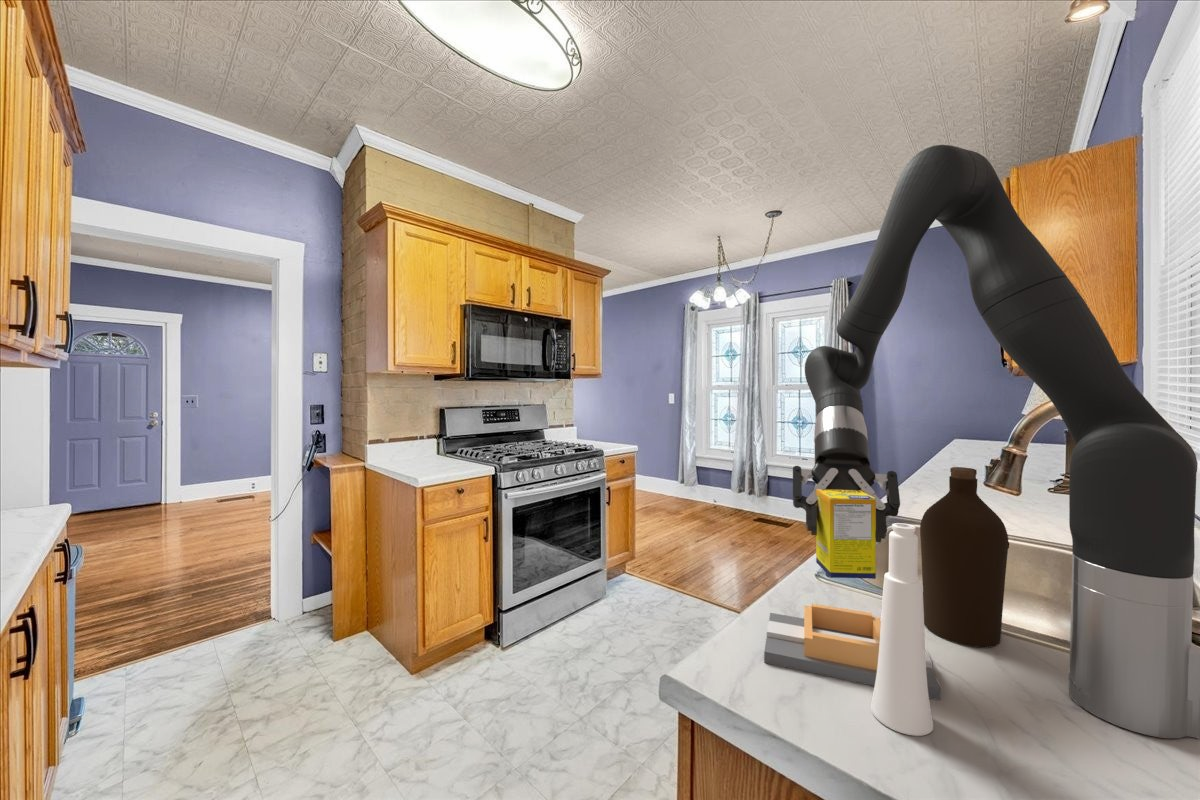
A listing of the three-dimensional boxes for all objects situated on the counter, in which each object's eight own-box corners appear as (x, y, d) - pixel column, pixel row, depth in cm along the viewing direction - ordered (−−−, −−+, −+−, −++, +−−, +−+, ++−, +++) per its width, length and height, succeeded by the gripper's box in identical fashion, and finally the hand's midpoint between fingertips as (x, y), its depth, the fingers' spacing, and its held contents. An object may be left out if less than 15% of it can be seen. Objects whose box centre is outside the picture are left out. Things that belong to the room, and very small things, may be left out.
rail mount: (918, 648, 68) (918, 617, 68) (940, 700, 57) (941, 663, 57) (770, 621, 76) (770, 594, 76) (764, 662, 65) (764, 629, 65)
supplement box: (857, 563, 69) (858, 488, 68) (876, 580, 63) (877, 498, 62) (814, 561, 69) (815, 487, 69) (829, 578, 63) (830, 497, 63)
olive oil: (953, 651, 67) (956, 475, 66) (903, 615, 78) (905, 463, 77) (1026, 650, 67) (1030, 474, 66) (966, 614, 78) (969, 462, 77)
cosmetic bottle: (939, 743, 50) (943, 536, 49) (874, 727, 52) (876, 529, 52) (926, 707, 56) (929, 521, 55) (867, 694, 58) (869, 515, 57)
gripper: (791, 424, 75) (788, 516, 65) (896, 426, 69) (911, 528, 59) (792, 453, 80) (789, 543, 70) (890, 457, 74) (903, 556, 64)
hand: (845, 535), depth 65 cm, fingers closed on supplement box, 7 cm apart
